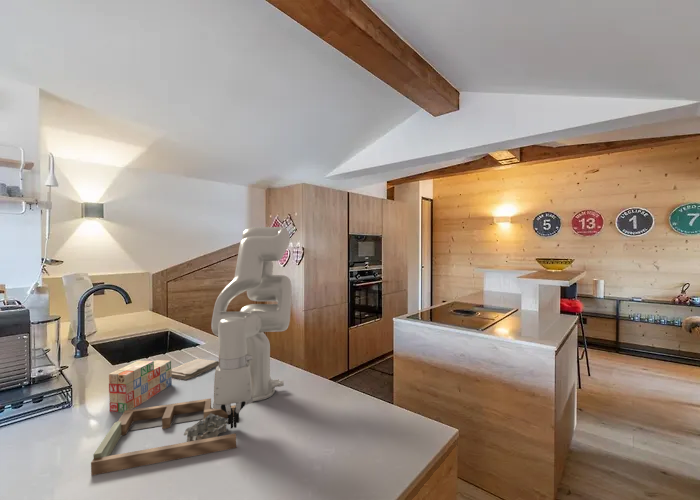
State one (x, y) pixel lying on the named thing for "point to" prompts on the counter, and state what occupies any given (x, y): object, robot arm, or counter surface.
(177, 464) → the counter surface
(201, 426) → the grey-green lumpy block
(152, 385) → the stack of blocks
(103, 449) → the trap lane
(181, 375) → the washcloth
